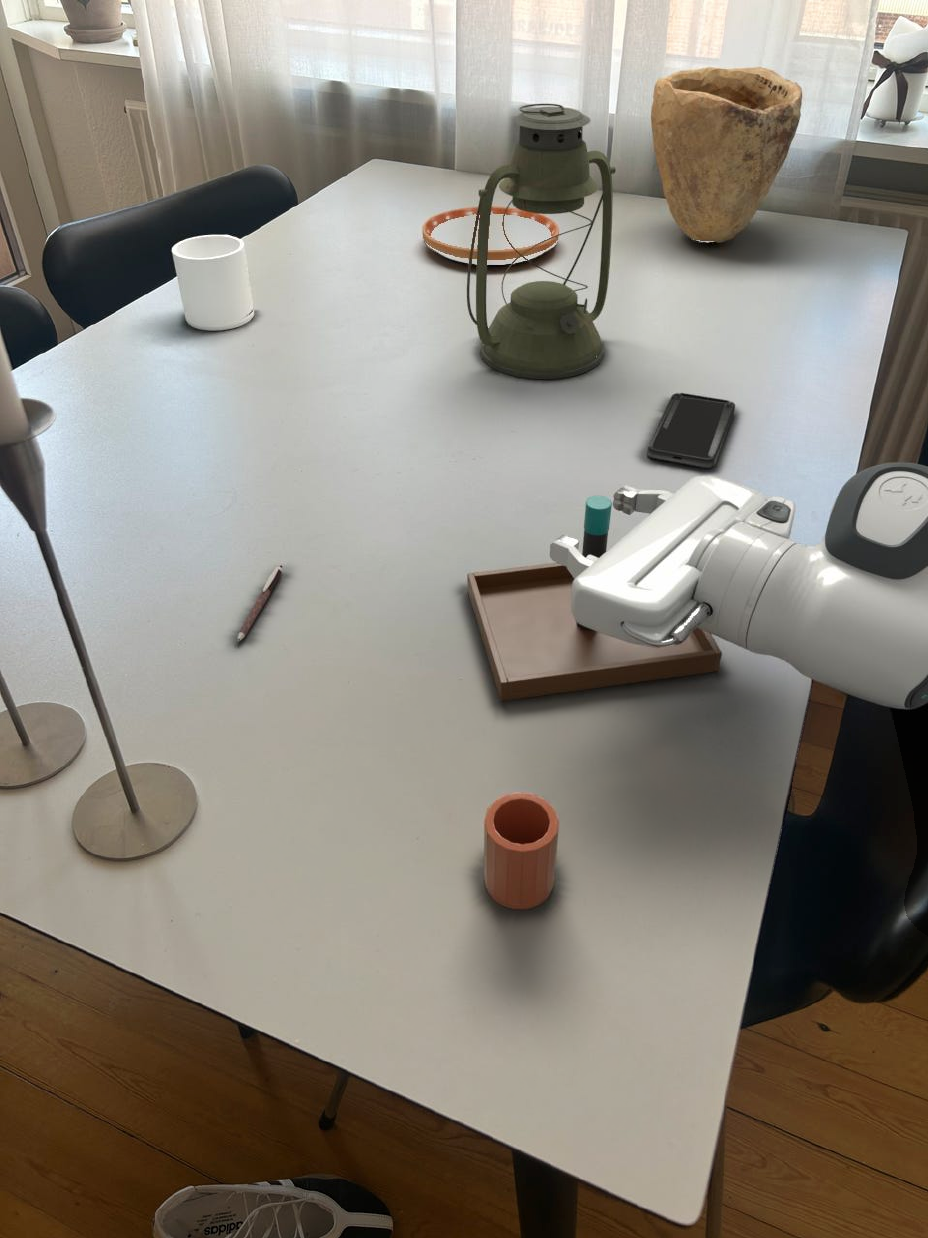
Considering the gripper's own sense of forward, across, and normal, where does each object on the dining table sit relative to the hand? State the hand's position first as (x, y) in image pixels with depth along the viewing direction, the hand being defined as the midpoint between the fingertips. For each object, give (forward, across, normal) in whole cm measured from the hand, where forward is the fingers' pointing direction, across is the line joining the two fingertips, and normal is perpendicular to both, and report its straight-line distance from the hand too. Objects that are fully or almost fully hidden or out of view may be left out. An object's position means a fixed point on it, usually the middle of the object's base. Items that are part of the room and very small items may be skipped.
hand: (587, 520), depth 81 cm
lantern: (+37, +45, -12) cm, 59 cm away
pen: (+25, -16, -12) cm, 32 cm away
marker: (-1, 0, -11) cm, 11 cm away
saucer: (+67, +73, -12) cm, 100 cm away
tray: (-1, 0, -12) cm, 12 cm away
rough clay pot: (+39, +98, -12) cm, 106 cm away
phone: (+9, +38, -12) cm, 40 cm away
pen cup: (-12, -25, -12) cm, 30 cm away
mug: (+81, +27, -12) cm, 87 cm away
